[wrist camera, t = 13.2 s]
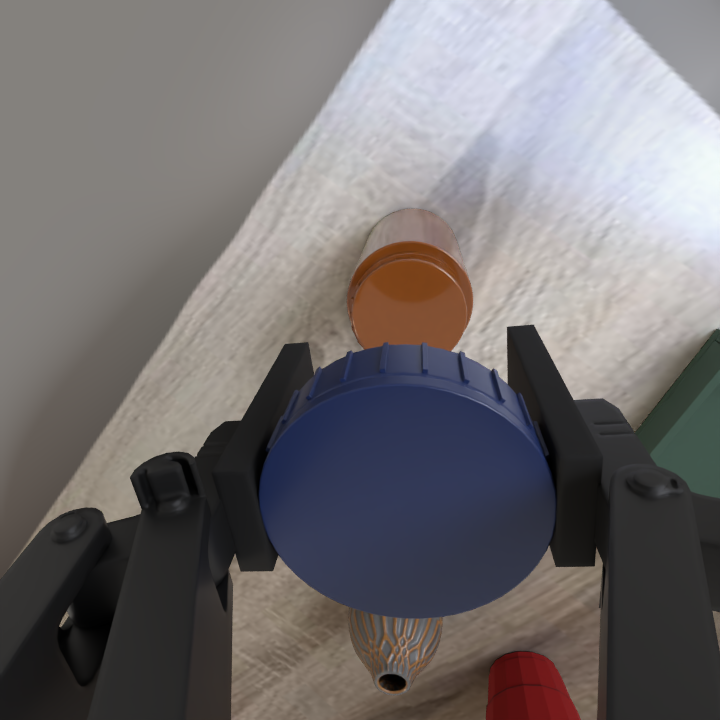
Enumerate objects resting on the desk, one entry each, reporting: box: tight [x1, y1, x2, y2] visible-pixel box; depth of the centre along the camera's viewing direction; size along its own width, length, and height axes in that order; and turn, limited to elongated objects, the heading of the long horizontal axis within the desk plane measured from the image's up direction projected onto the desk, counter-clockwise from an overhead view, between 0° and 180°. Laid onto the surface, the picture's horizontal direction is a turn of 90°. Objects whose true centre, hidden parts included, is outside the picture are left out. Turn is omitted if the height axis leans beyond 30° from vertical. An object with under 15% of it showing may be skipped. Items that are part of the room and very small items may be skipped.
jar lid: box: [258, 342, 557, 619], centre depth 12 cm, size 6×6×2 cm
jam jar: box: [347, 209, 473, 351], centre depth 27 cm, size 6×6×11 cm
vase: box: [348, 607, 442, 695], centre depth 39 cm, size 7×7×9 cm
